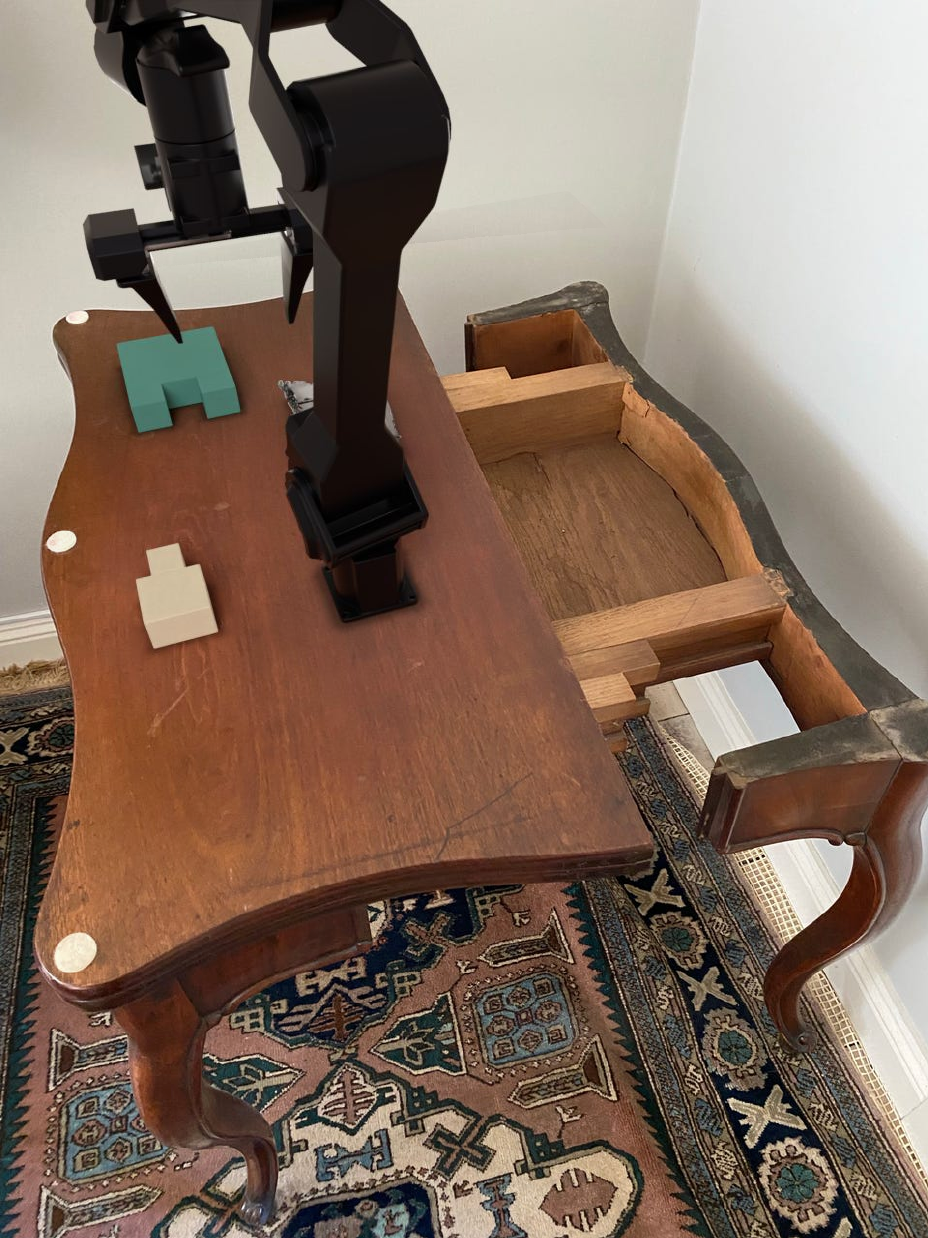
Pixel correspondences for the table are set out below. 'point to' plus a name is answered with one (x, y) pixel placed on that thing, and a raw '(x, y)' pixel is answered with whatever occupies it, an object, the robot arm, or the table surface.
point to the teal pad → (176, 377)
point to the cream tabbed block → (174, 599)
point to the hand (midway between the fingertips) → (236, 331)
